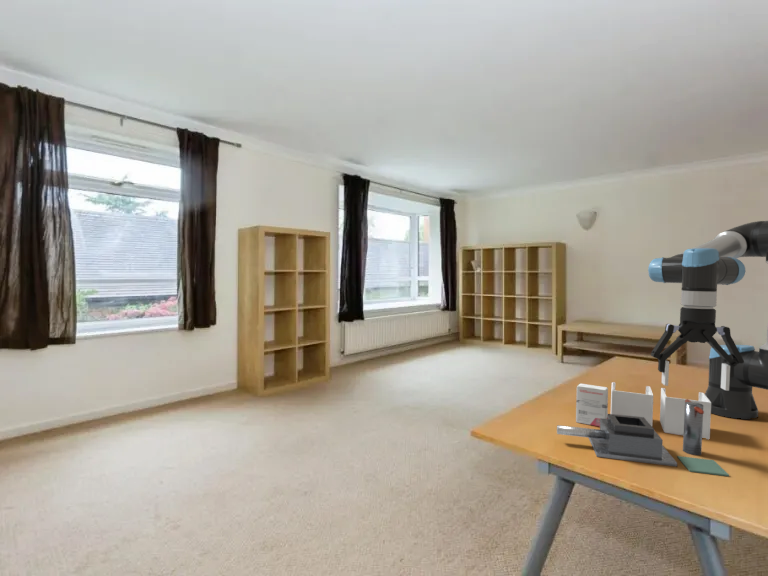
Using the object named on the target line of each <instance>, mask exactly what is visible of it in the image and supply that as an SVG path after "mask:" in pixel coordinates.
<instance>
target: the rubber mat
mask: <svg viewBox="0 0 768 576" xmlns="http://www.w3.org/2000/svg"><path fill="white" fill-rule="evenodd" d="M676 457H677V459H678V460H679V461H680V462H681V464H682V465H683V466H684V467H685V469H687V470H688V472H690V473H691V472H692V473H698V474H707V475H714V476H715V475H716V476H722V477H729V478H730V474H729V473H728V472H727V471H726V470H725V469H724V468H723V467H721V466H720V465H719V464H718V463H717V462H716V461H715V460H713V459H707V458H699V457H690V456H681V455H677V456H676Z"/></svg>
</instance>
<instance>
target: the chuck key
mask: <svg viewBox="0 0 768 576" xmlns="http://www.w3.org/2000/svg"><path fill="white" fill-rule="evenodd" d="M685 399H686V400H685V410H684V434H683V435H682V436H683V439H682V451H683V452H684V453H686V454H688V455H693V456H702V447H703V446H702V445H703V439H702V427H703V413H704V411H703V405H702V404H699V403H695V402H691V401H690V400H691V399H688V398H685Z"/></svg>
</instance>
